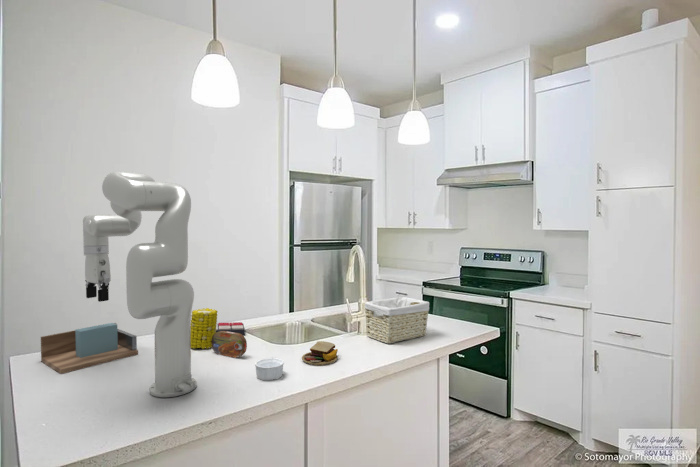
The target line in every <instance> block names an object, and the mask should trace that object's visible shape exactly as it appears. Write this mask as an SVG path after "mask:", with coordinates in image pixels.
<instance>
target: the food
mask: <svg viewBox="0 0 700 467" xmlns="http://www.w3.org/2000/svg"><path fill="white" fill-rule="evenodd" d="M217 323H218V310H217V309H215V308H214V309H213V308H209V307H206V308H198V309H195V310H193V309H192V311H191V334H190V337H191V349H202V350H204V349H211V348H212V345H211V340H212V337H213V335H214V334H215V333H216V324H217Z"/></svg>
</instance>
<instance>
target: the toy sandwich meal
mask: <svg viewBox="0 0 700 467" xmlns="http://www.w3.org/2000/svg"><path fill="white" fill-rule="evenodd" d="M309 351H310V352H306V353H304V354H303V355H302V356H301V360H302V361H303V362H304V363H305V362H306V364H307V363H309V364H308V365H311V364H313V365H312V366H326V365H325V364H327V365H330V363H331V364H333V363H334V361H337V360H338V355H337V354H338V352H339V351H338V348H336V344H335V343H333V342H329V341H324V340H323V341H322V340H321V341H318V340H317V341H316V343H315V344H313V346H311V347H310V348H309Z"/></svg>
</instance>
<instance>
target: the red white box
mask: <svg viewBox="0 0 700 467" xmlns="http://www.w3.org/2000/svg"><path fill="white" fill-rule="evenodd" d="M216 323H217V324H216V332H220V331H227V332H234V333H240V334H242V335H243V336H244V337H245V334H246V331H245V330H246V328H245V326H244V323H243V322H241V321H240V322H216Z"/></svg>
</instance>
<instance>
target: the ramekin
mask: <svg viewBox="0 0 700 467" xmlns="http://www.w3.org/2000/svg"><path fill="white" fill-rule="evenodd" d="M284 365H285V361H284V360H283V359H281V358H276V357H275V358H274V357H267V358H266V357H265V358H262V359H258V360H257V361H256V362H255V363H254V366H255V372H256V377H257V378H258V379H259V380H261V379H262V381H273V379H275V380H277V378H278V379H280V378H281V377H282V376H283V372H284V371H283V370H284ZM279 377H280V378H279Z"/></svg>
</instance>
